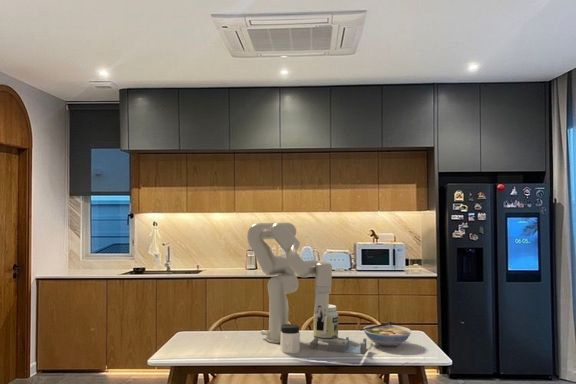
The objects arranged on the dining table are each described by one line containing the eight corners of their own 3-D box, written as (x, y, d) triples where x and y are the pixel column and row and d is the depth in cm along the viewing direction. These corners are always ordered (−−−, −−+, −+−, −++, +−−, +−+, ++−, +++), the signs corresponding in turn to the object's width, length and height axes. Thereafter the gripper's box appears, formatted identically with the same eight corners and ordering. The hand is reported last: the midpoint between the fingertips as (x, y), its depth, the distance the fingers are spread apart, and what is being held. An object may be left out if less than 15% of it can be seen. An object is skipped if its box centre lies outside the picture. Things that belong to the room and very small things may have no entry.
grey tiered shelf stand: (310, 351, 227) (310, 339, 227) (315, 346, 237) (315, 334, 237) (363, 356, 220) (363, 343, 220) (366, 350, 230) (366, 338, 230)
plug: (315, 333, 230) (316, 315, 230) (317, 331, 234) (318, 314, 234) (324, 334, 229) (325, 316, 229) (326, 332, 233) (326, 315, 233)
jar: (277, 354, 222) (277, 326, 222) (283, 349, 229) (283, 323, 230) (296, 356, 219) (297, 328, 220) (301, 351, 227) (302, 324, 227)
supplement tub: (337, 344, 241) (337, 308, 242) (311, 342, 243) (312, 307, 244) (338, 338, 253) (339, 304, 254) (314, 336, 255) (315, 303, 256)
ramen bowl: (389, 354, 223) (389, 336, 224) (351, 344, 241) (351, 327, 241) (423, 346, 239) (422, 328, 240) (385, 336, 257) (385, 320, 257)
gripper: (319, 286, 241) (317, 324, 241) (310, 291, 225) (308, 332, 225) (334, 287, 239) (332, 326, 238) (326, 293, 223) (324, 334, 223)
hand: (321, 328), depth 232 cm, fingers closed on plug, 4 cm apart
